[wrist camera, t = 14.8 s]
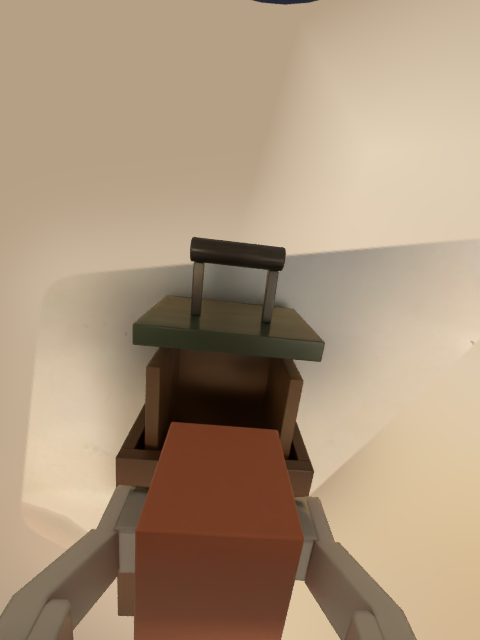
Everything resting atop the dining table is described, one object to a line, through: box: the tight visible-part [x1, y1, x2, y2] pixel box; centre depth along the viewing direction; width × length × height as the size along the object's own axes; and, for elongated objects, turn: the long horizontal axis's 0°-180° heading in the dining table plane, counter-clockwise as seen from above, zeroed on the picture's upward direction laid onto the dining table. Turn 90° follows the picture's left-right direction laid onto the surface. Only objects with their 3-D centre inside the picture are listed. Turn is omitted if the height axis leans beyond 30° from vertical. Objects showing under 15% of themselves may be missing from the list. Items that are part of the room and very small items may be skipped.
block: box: [134, 422, 304, 640], centre depth 10 cm, size 4×4×4 cm
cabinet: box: [116, 402, 314, 616], centre depth 22 cm, size 14×12×10 cm
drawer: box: [133, 237, 325, 460], centre depth 19 cm, size 17×10×8 cm, turn 174°
